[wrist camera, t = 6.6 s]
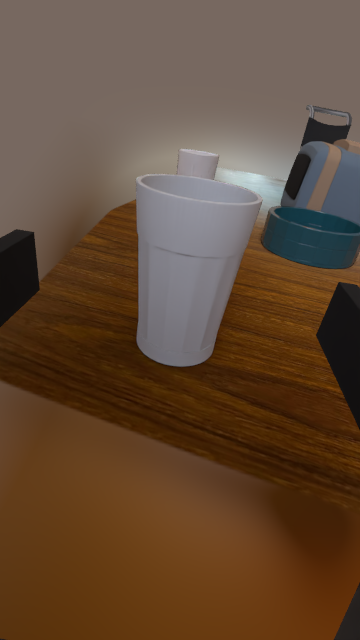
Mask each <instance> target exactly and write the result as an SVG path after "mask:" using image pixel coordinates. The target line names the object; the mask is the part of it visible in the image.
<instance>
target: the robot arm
mask: <svg viewBox="0 0 360 640" xmlns="http://www.w3.org/2000/svg"><path fill="white" fill-rule="evenodd" d="M39 290H40V288H39V279H38V268H37V259H36V248H35V239H34V232H29V231H23V230H14V231H12V232H11V233H9V234H7V235H5V236H3V237H1V238H0V327H1V326H2V325H3V324H4V323H5V322H6V321H7V320H8V319H9V318H10V317H11V316H12V315H13V314H14V313H16V312H17V311H18V310H19V309H20V308H21V307H22V306H23V305H24V304H25V303H26V302H27V301H28V300H29V299H30V298H31V297H32V296H34V295H35V294H36V293H37V292H38V291H39ZM316 336H317V338H318V341H319V343H320V345H321V347H322V349H323V351H324V354H325V356H326V358H327V360H328V362H329V364H330V367H331V369H332V371H333V373H334V375H335V377H336V379H337V382H338V384H339V386H340V388H341V390H342V392H343V395H344V397H345V399H346V401H347V403H348V405H349V408H350V410H351V412H352V414H353V416H354V418H355V421H356V423H357V425H358V427H359V429H360V288H359V287H358V286H357V285H355V284H349V283H342V282H339V283H338V285H337V287H336V290H335V292H334V294H333V297H332V299H331V301H330V304H329V306H328V309H327V311H326V313H325V316H324V318H323V320H322V323H321V325H320V327H319V330H318V332H317V334H316ZM0 640H4V639H0ZM334 640H360V583H359V586H358V588H357V590H356V593H355V594H354V597H353V599H352V601H351V603H350V605H349V608H348V610H347V612H346V614H345V616H344V619H343V621H342V623H341V625H340V628H339V630H338V632H337V634H336V636H335V639H334Z"/></svg>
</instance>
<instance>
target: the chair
mask: <svg viewBox="0 0 360 640" xmlns="http://www.w3.org/2000/svg"><path fill="white" fill-rule="evenodd" d="M306 109H307V110H309V111H310V116H309V120H308V123H307V127H306V130H305V133H304V137H303V140H302V144H301V148H302V147H303V145H305V144H307V143H309V142H314V141H322V142H326V143H329V144H332V145H333V144H334V142H335V141H337V140H341V139H346V138H347V135H348V132H349V129H350V126H351V121H352V117H351V114H350V113H348V112H342V111H337V110H331V109H326V108H321V107H316V106H311V105H307V107H306ZM314 111H316V112H321V113H327V114H331V115H337V116H342V117H346V118H347V124H346V126H333V125H327V124H323V123H320V122H317V121H316V120H314V119H313V118H314Z"/></svg>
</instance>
